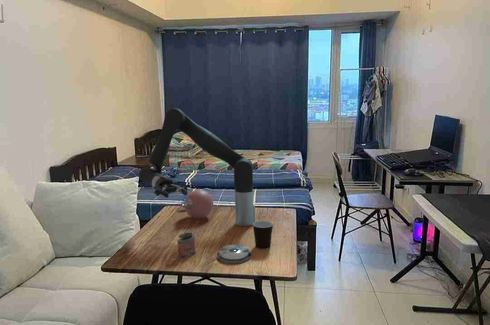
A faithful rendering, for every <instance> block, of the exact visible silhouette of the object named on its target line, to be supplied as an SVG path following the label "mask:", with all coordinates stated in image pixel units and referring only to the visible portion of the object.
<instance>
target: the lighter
mask: <svg viewBox="0 0 490 325" xmlns="http://www.w3.org/2000/svg"><path fill="white" fill-rule="evenodd" d="M195 239H196V236H195V235H193V231H192V230H191V231H185V232H182V233H179V235H178V239H176V241H177V250H178V252H177V253H178V255H177V258H178V260H179V259H180V260H182V259H186V258H190V257H192V256H194V255H196V253H197V252H196V240H195Z"/></svg>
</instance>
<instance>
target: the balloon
mask: <svg viewBox="0 0 490 325" xmlns="http://www.w3.org/2000/svg"><path fill="white" fill-rule="evenodd" d="M184 200H185V201H183V202H184V204H182V208H183V209H184V211H185V212H186V214H187V215H189V217H191V218H194V219H196V220H197V219H198V220H199V219H204V218H206V217H207V216H209V215H210V214H211V212H212V211H213V208H214V200H213V198H212V195H211V194H210V193H209V192H207V191H206V190H203V189H194V190H192V191H190V192H189V193H187V196H186V198H184Z"/></svg>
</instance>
